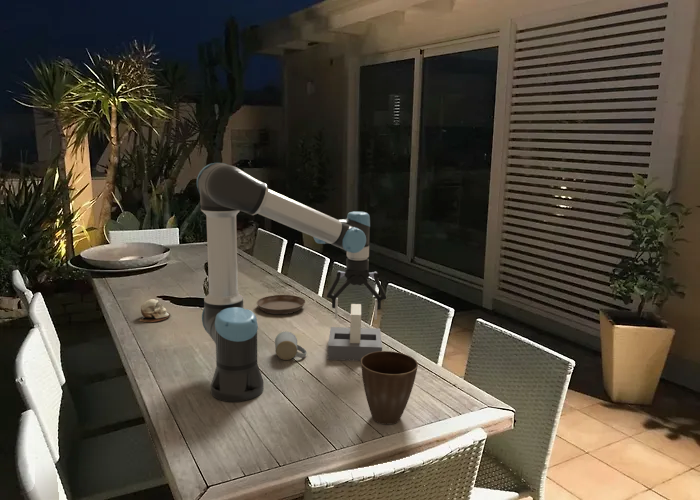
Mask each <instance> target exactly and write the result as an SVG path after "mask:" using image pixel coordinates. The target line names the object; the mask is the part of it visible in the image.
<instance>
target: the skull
mask: <svg viewBox="0 0 700 500" xmlns="http://www.w3.org/2000/svg"><path fill="white" fill-rule="evenodd" d="M140 313H141V316H143V317H142V318H143V319H142V318H140V319H139V321H140V322H142V323H153V322H160V321H164V320H166V319H168V318H170V317H171V313H169V312H167V308H165V307H164V306H163V305H162V304H161V303H160V302H159V300H158V299H154V298H150V299H148V300H146V301H144V302H143V303H142V305H141V307H140Z"/></svg>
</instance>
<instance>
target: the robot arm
mask: <svg viewBox="0 0 700 500" xmlns="http://www.w3.org/2000/svg"><path fill="white" fill-rule="evenodd" d="M196 187H197V191H198V193H199V197H200V198H199V199H200V200H199V201H200V211H201V212H202V213H203V214H204V215H205V217H206V239H207V240H206V241H207V242H206V243H207V244H206V245H207V264H208V265H207V267H208V270H207V272H208V294H207V295H206V296H205V297H204V298H203V300H204V301H203V303H204V306H203V307H204V308H203V309H202V313H201V323H202V326H203V329H204V330H205V332H206V333H207V334H208V335H209V336H210V339H212V341H213V342H214V344H215V359H216V360H215V362H216V363H215V364H216V367H215V368H214V369H215V370H214V373H213V376H212V378H211V383H210V394H211V396H212V397H213V398H215V399H217V400H219V401H223V402H229V403H230V402H231V403H235V402H236V403H238V402H245V401H246V402H247V401H250V400H252V399H256V398H257V397H259V396H260V395H261V394H263V392H264V388H265V387H264V379H263V375H262V373H261V370H260V368H259V364H258V329H259V326H258V325H259V324H258V319H257V315H256V314H255V313H254V311H252V310H250V309H249V308H244V296H243V295H242V294H240V292H239V281H238V278H239V277H238V241H237V240H238V239H237V235H238V233H237V215H238V213H240V212H243V213H246V214H248V215H250V216H254V215H257V214H258V215H259V216H262V217H265V218H266V219H270V220H273V221H275V222H277V223H279V224H282V225H284V226H286V227H289V228H291V229H294V230H297V231H298V232H301V233H303V234H305V235H308V236H310V237H313V238H312V239H314V243H316V244H318V245H319V244H323V245H325V244H331V245H332V246H334V247H337V248H340V249H341V250H344V251H345V252H346V257H347V258H346V259H345V260H346V261H345V262H346V263H345V264H346V265H345V266H346V268H345V271H341V270H340V269H338V270H337V272H336V277H335V279H334V281H333V282H332V284H331V286H330V287H329V290H328V292H327V293H326V298H328V299H331V308H332V309H334V314H335V315H334V319H338V312H339V311H338V310H339V309H338V308H339V307H338V306H339V305H338V304H339V298H338V297H339V296H340V294H342V292H344V290H345V289H346V288H347V287H349V286H350V285H352V286H357V285H358V286H362V285H364V286H365V288H367V289H368V290H369V292H370V293H371V294H372V295H373V297H374V298H375V299H374V320H378V310H381V309H382V308H381V307H382V305H381V304H382V303H381V302H382V301H383V300H386V299H387V295H386V292H385V290H384V288H383V286H382V284H381V282H380V280H379V278H378V271H376V270H375V271H372V272H370V271H369V263H370V262H369V261H370V260H369V257H370V231H371V230H370V229H371V217H370V214H369V213H368V212H365V211H350V212H348V213H347V217H346V218H343V219H342V218H341V219H339V218H338V219H337V218H335V217H332V216H331V215H328V214H326V213H323V212H321V211H319V210H316V209H314V208H312V207H310V206H308V205H305V204H303V203H301V202H299V201H298V200H297V201H296V200H294V199H292V198H289V197H288V196H285V195H284V194H281V193H278V192H276V191H274V190H272V189H270V188H269V187H268V185H267V183H265V182H263V181H261V180H259V179H256V178H255V177H253V176H251V175H250V174H249V173H247V172H245V171H243V170H242V169H240V168H238V166H237V167H236V166H234V165H230V164H227V163H225V162H214V163H209V164H206V166H204V167H202V169H201V170H200V171H199V172H198V175H197V178H196ZM343 277H345V278H346V280H345V281H344V283H342V285H340V287H339V288H338V289H337V290H336V291H334V290H335V289H336V287H337V285H338V283H339V281H340V279H342V278H343ZM369 278H371V279H373V280H374V283H375V285H376V287H377V289H378V290H379V293H380V294H379V293H378V292H377V290H376V289H375V288H374V287H373V285H372V284H371V283H370V282H369V280H368V279H369ZM333 292H334V293H333Z"/></svg>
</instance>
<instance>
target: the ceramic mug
mask: <svg viewBox="0 0 700 500" xmlns="http://www.w3.org/2000/svg"><path fill="white" fill-rule="evenodd" d="M274 350H275V354H276V356H277V357H278V358H279V359H281V360H284V361H290V360H291V359H293V358H295V356H296V357H297V358H300V359H301V358H302V359H303V358H305V357H307V356H306V355H307V354H308V353H307V349H305V348H304V347H302V346H301V345H299V344H298V338H297V336H296V334H294V333H293V332H291V331H287V330H286V331H281V332H280V333H278V334H277V336H275V339H274ZM298 351H299V352H298Z"/></svg>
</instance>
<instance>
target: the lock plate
mask: <svg viewBox="0 0 700 500" xmlns="http://www.w3.org/2000/svg"><path fill="white" fill-rule="evenodd" d="M381 333H382V332H381V328H379V327H378V328H377V327H375V328H374V327H370V328H369V327H361V336H360V343H350V327H347V326H346V327H344V326H341V327H340V326H330V329H329V336H328V343H327V361H351V362H352V361H354V362H355V361H357V362H361V359H362V357H363V356H365V355H367V354H369V353H372V352H378V351H383V343H382V334H381Z"/></svg>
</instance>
